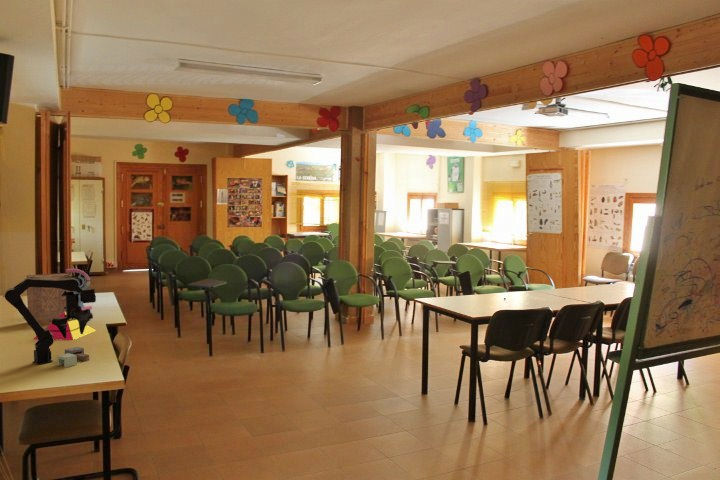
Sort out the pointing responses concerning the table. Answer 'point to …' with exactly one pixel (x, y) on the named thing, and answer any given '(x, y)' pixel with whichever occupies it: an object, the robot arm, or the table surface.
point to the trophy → (81, 285)
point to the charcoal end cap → (74, 350)
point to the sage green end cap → (67, 359)
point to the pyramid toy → (69, 330)
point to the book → (46, 299)
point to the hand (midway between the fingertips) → (73, 336)
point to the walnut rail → (82, 356)
